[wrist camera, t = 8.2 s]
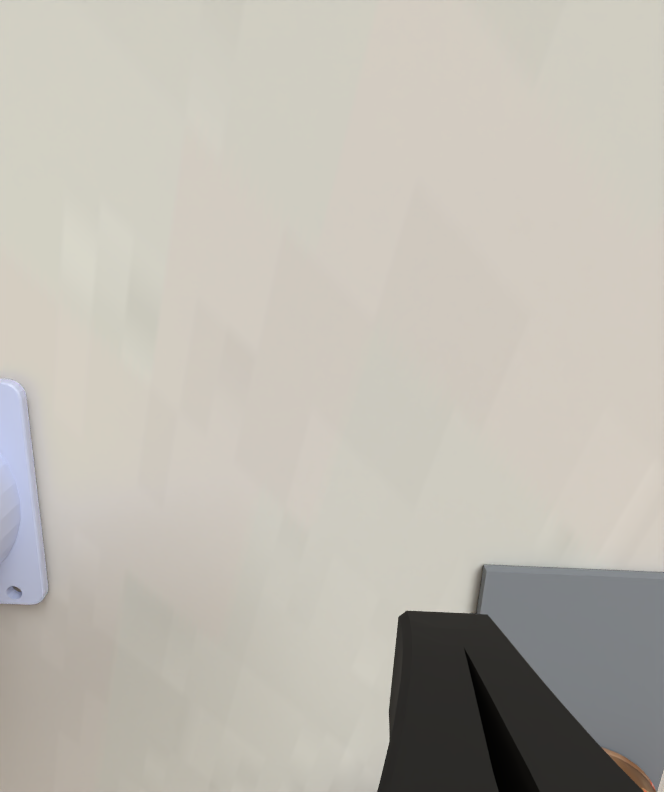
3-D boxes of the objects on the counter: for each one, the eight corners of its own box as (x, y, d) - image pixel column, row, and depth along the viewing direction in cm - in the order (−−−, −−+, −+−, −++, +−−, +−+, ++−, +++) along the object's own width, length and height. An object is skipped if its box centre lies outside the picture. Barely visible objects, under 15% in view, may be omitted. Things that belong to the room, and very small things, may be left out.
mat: (433, 901, 26) (434, 911, 25) (483, 564, 20) (486, 571, 20) (615, 907, 26) (619, 917, 26) (712, 574, 21) (719, 581, 20)
